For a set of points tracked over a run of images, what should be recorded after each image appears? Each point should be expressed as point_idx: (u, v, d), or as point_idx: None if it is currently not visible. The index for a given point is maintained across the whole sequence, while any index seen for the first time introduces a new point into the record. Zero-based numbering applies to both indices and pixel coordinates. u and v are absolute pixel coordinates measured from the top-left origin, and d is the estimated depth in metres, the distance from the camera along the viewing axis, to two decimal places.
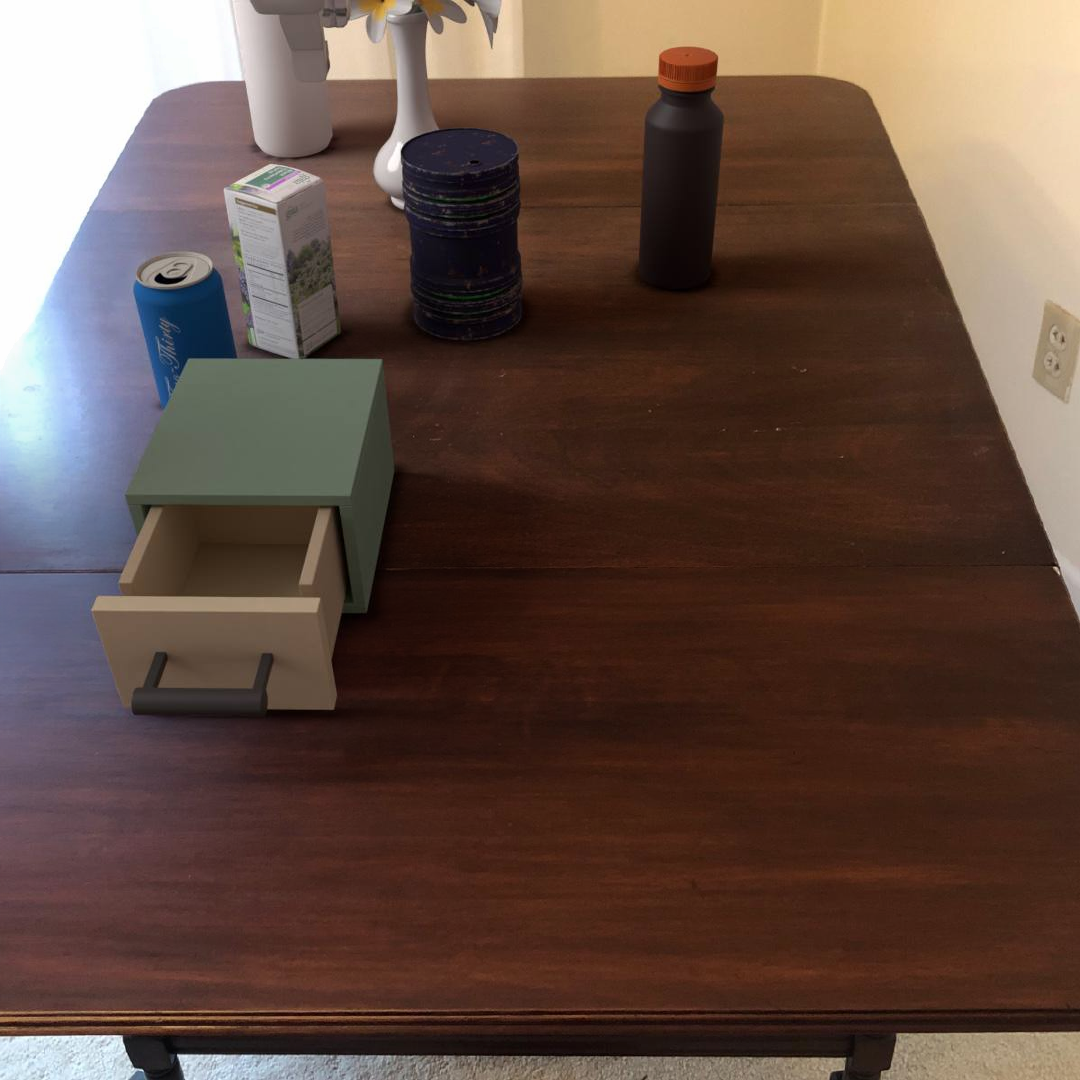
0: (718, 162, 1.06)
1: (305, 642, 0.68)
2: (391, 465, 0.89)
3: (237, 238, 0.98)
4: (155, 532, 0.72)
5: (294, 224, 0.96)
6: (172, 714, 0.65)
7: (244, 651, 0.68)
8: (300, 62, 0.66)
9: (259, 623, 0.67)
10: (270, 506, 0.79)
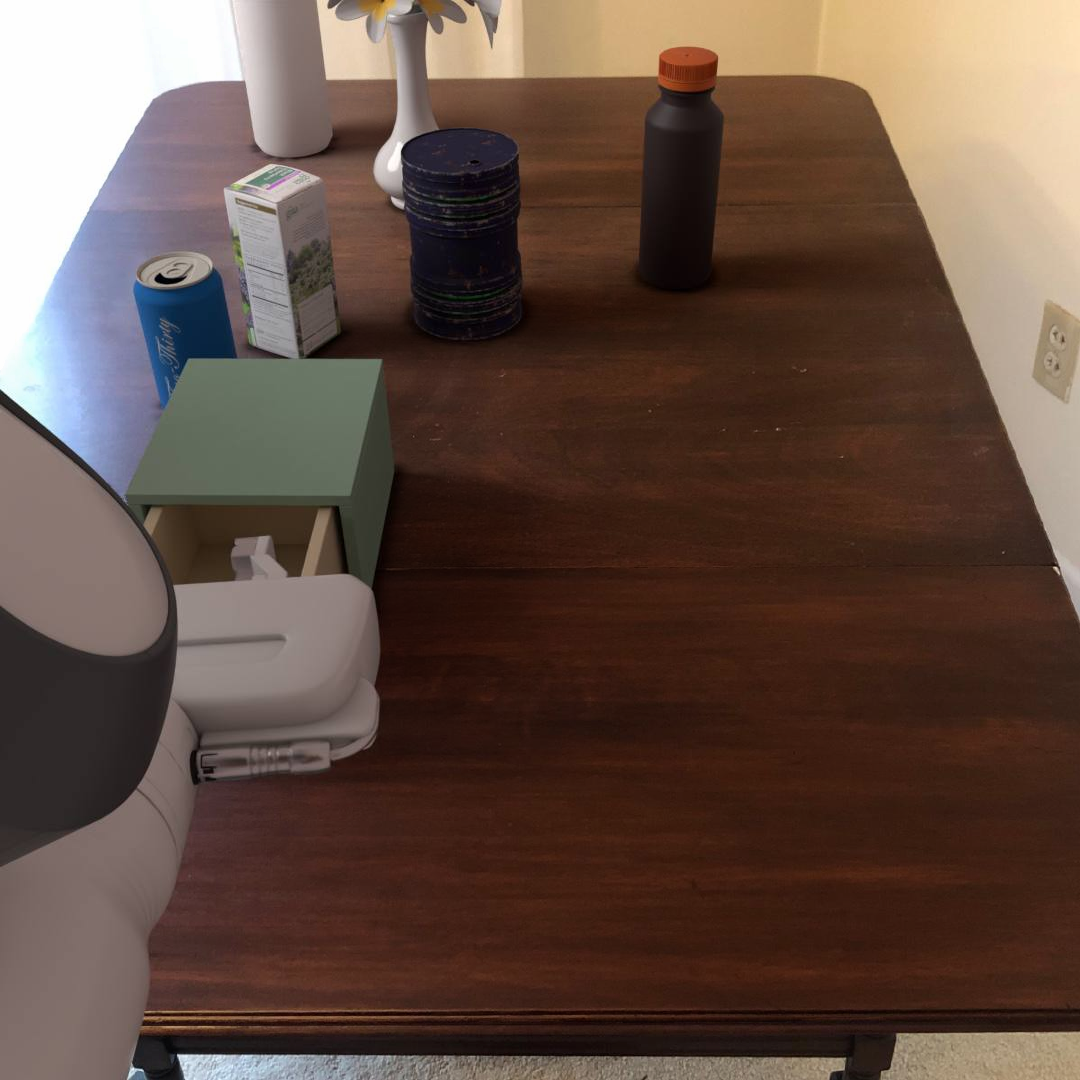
0: (718, 162, 1.06)
1: None
2: (391, 465, 0.89)
3: (237, 238, 0.98)
4: (155, 532, 0.72)
5: (294, 225, 0.96)
6: None
7: None
8: None
9: None
10: (270, 506, 0.79)
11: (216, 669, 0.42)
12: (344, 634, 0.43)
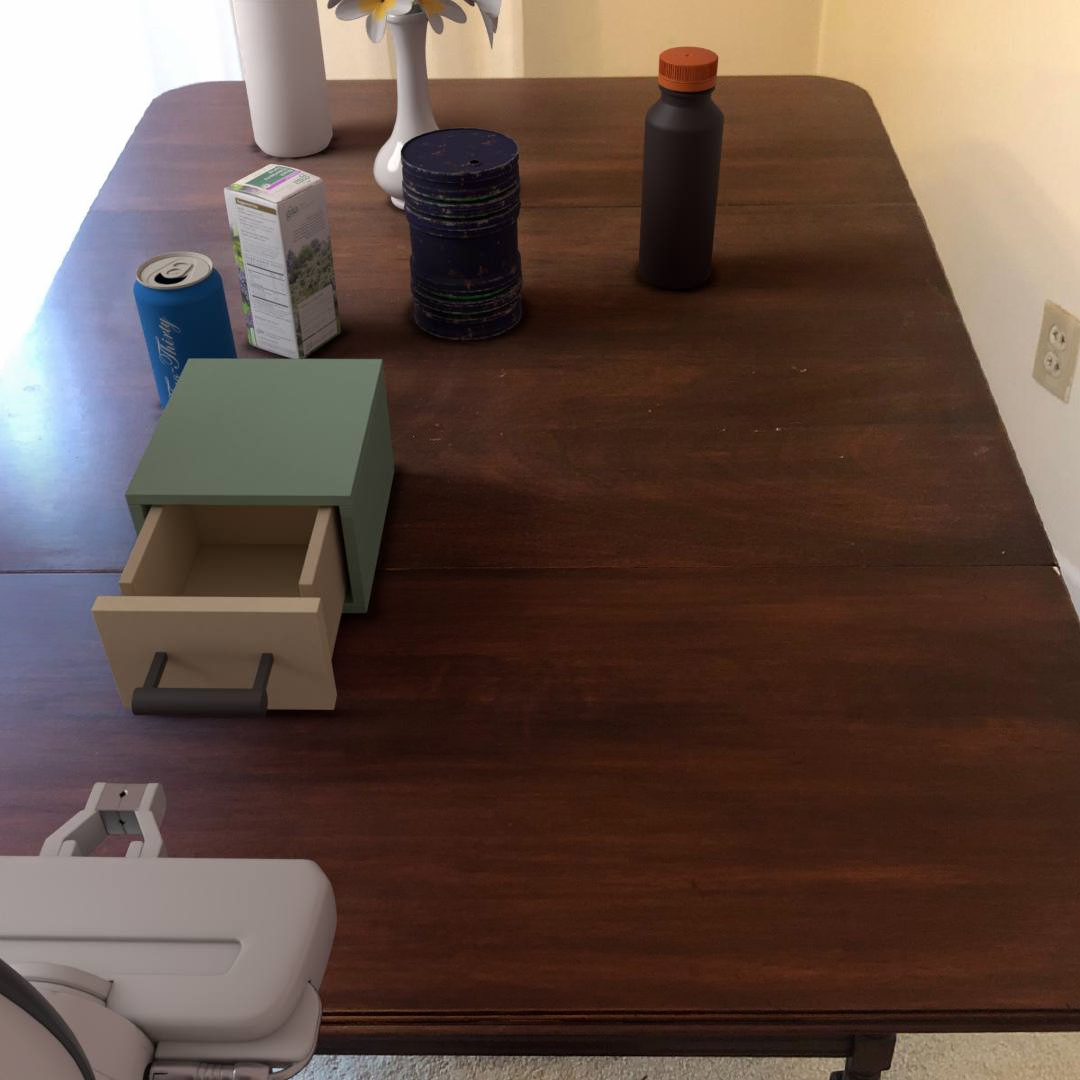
0: (718, 162, 1.06)
1: (305, 642, 0.68)
2: (391, 465, 0.89)
3: (237, 238, 0.98)
4: (155, 532, 0.72)
5: (294, 225, 0.96)
6: (172, 714, 0.65)
7: (244, 651, 0.68)
8: None
9: (259, 623, 0.67)
10: (270, 506, 0.79)
11: (174, 981, 0.46)
12: (293, 946, 0.47)
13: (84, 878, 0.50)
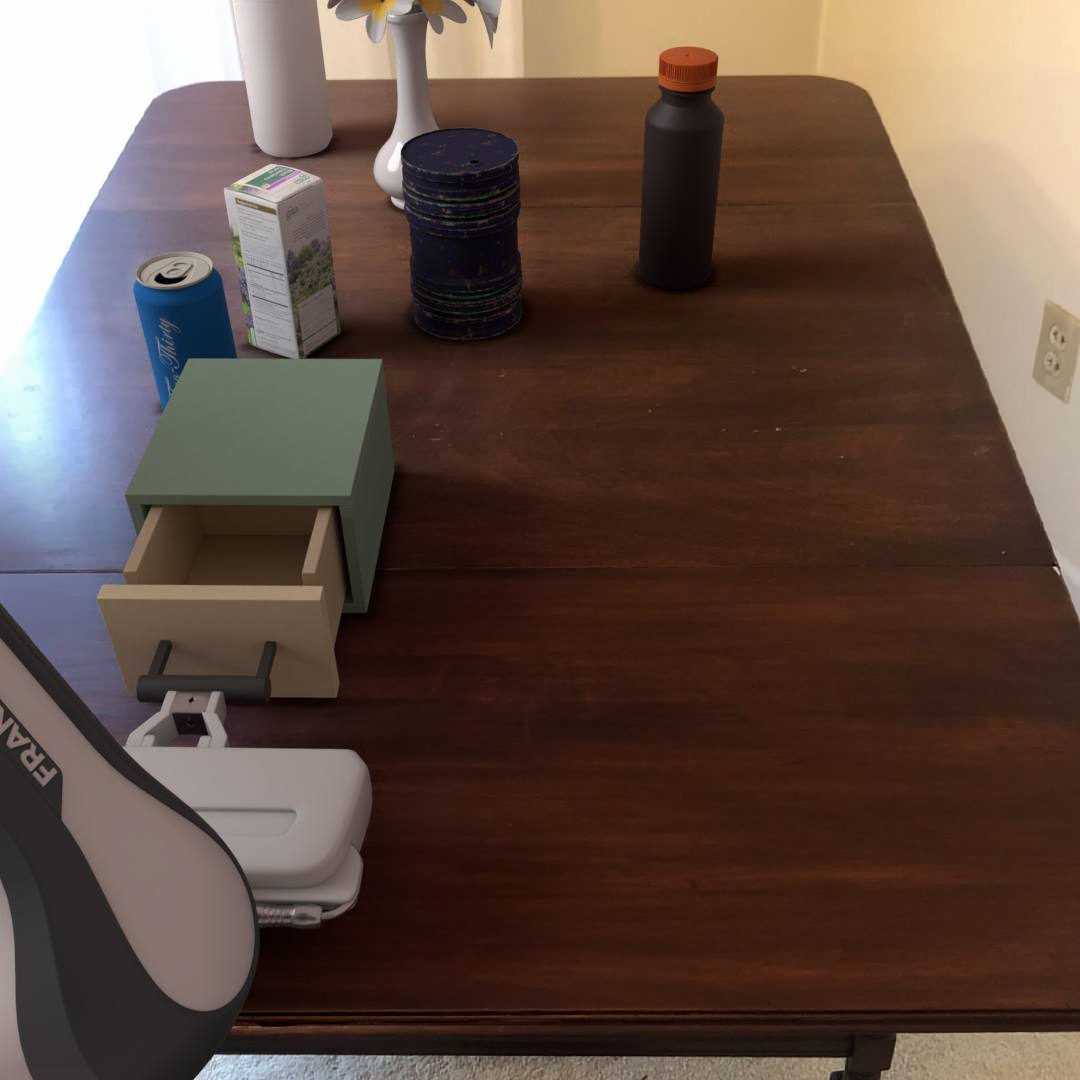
0: (718, 162, 1.06)
1: (308, 630, 0.68)
2: (391, 465, 0.89)
3: (237, 238, 0.98)
4: (159, 521, 0.73)
5: (294, 225, 0.96)
6: None
7: (248, 639, 0.69)
8: None
9: (263, 611, 0.68)
10: None
11: (243, 840, 0.57)
12: (340, 814, 0.58)
13: (165, 762, 0.60)
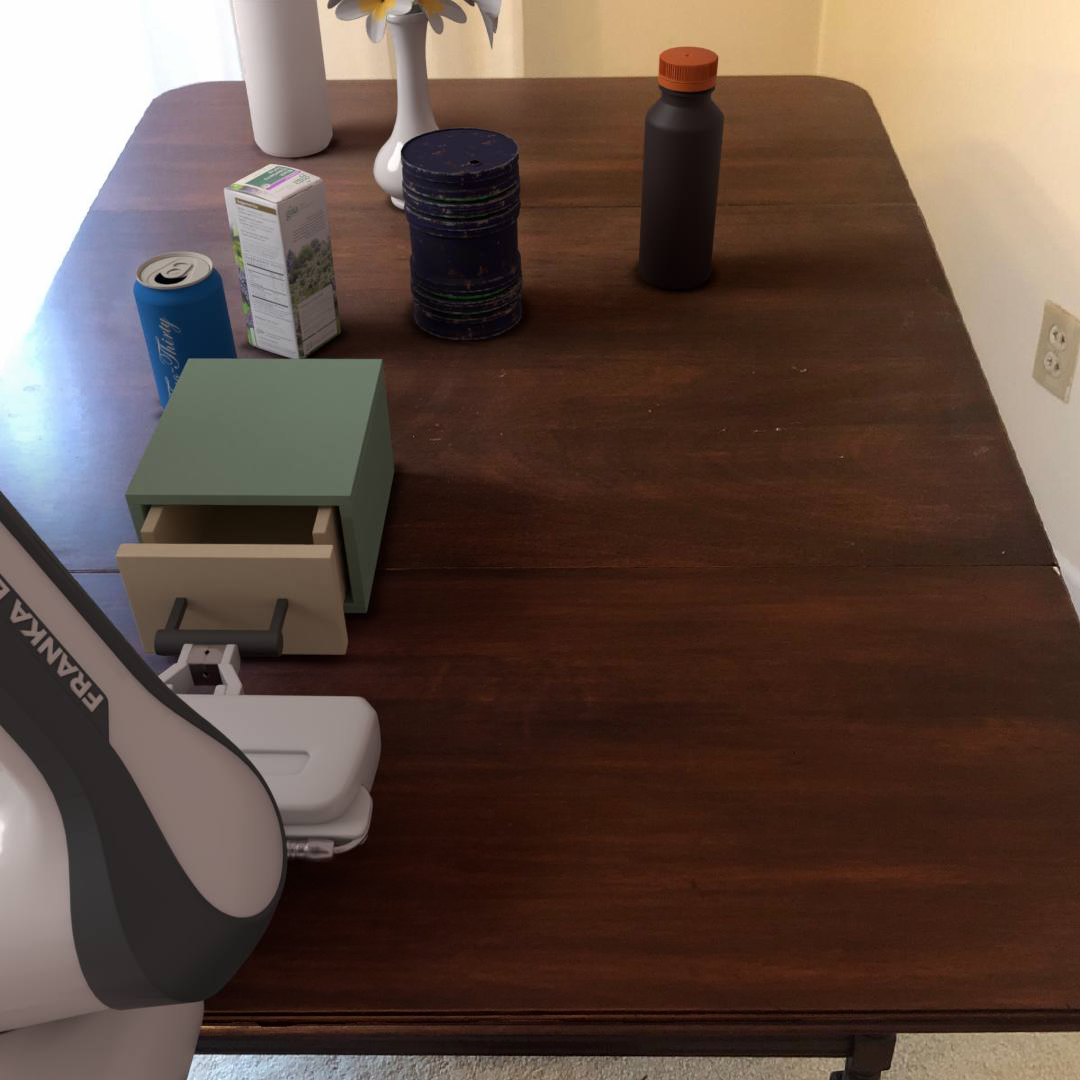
0: (718, 162, 1.06)
1: (318, 587, 0.71)
2: (391, 465, 0.89)
3: (237, 238, 0.98)
4: None
5: (294, 225, 0.96)
6: None
7: (260, 596, 0.72)
8: None
9: (275, 569, 0.70)
10: None
11: None
12: (350, 755, 0.60)
13: None
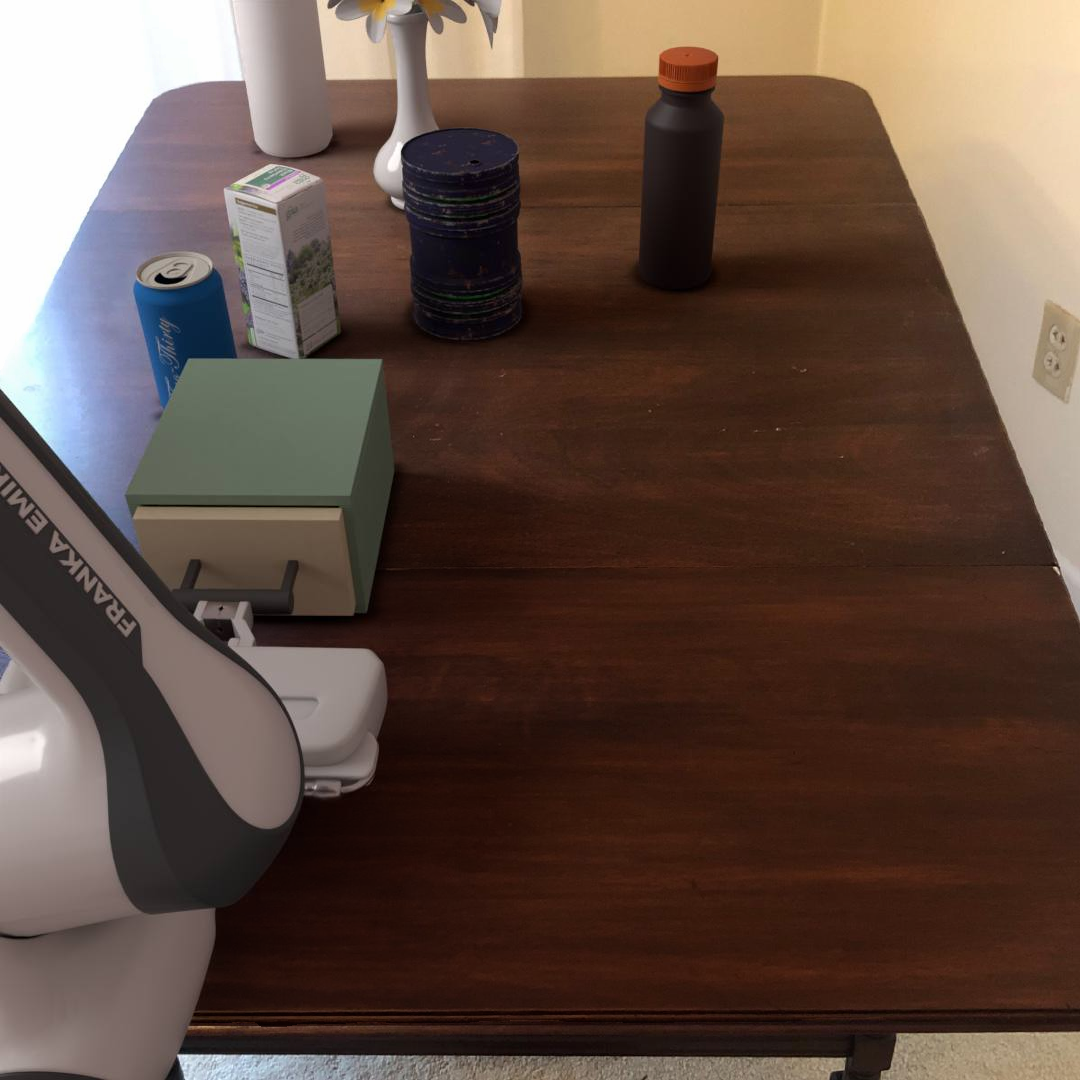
0: (718, 162, 1.06)
1: (328, 549, 0.74)
2: (391, 465, 0.89)
3: (237, 238, 0.98)
4: None
5: (294, 225, 0.96)
6: None
7: (272, 558, 0.74)
8: None
9: (286, 531, 0.73)
10: None
11: None
12: (358, 702, 0.63)
13: None
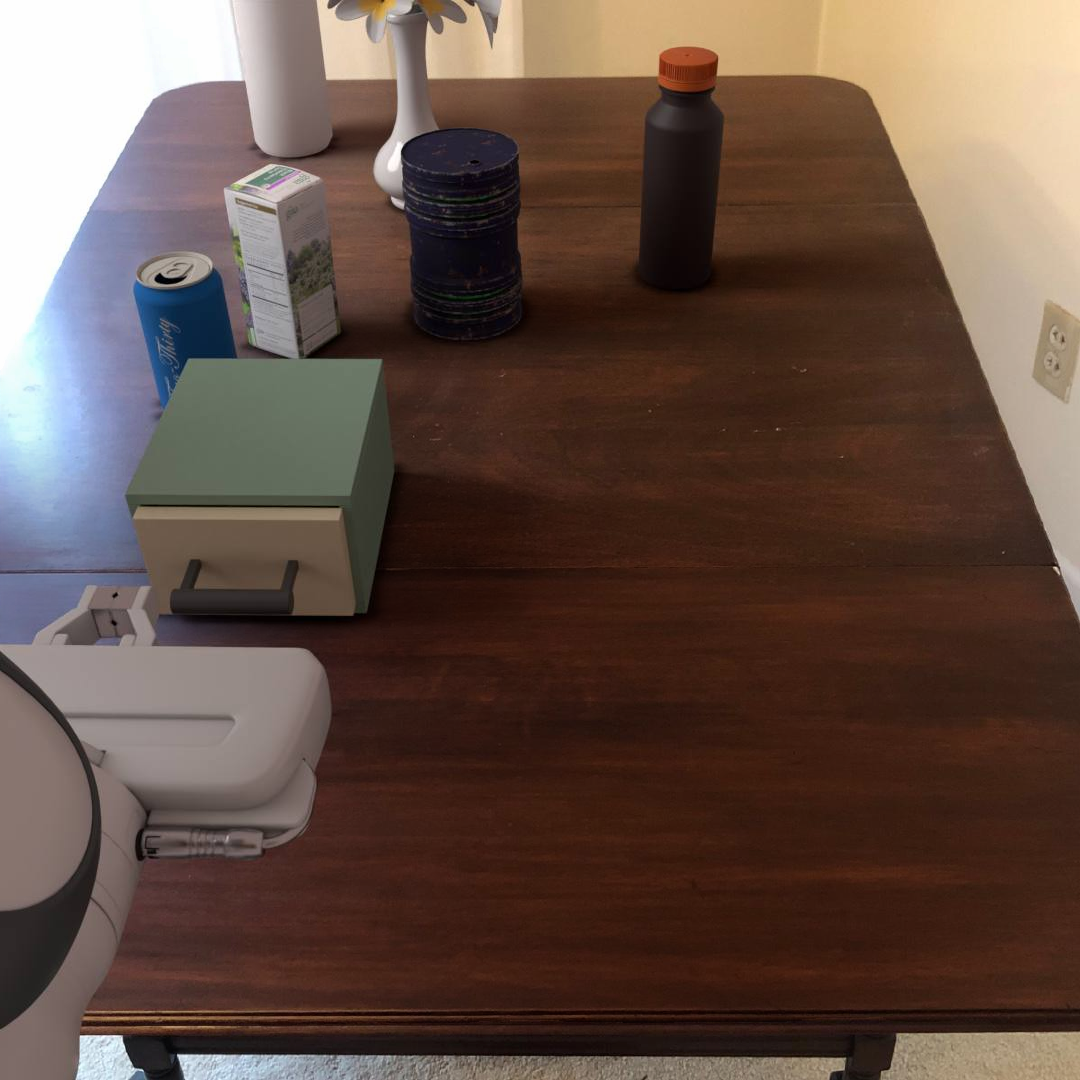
0: (718, 162, 1.06)
1: (328, 549, 0.74)
2: (391, 465, 0.89)
3: (237, 238, 0.98)
4: None
5: (294, 225, 0.96)
6: (207, 612, 0.72)
7: (272, 558, 0.74)
8: None
9: (286, 531, 0.73)
10: None
11: (167, 751, 0.46)
12: (288, 721, 0.47)
13: (76, 662, 0.49)
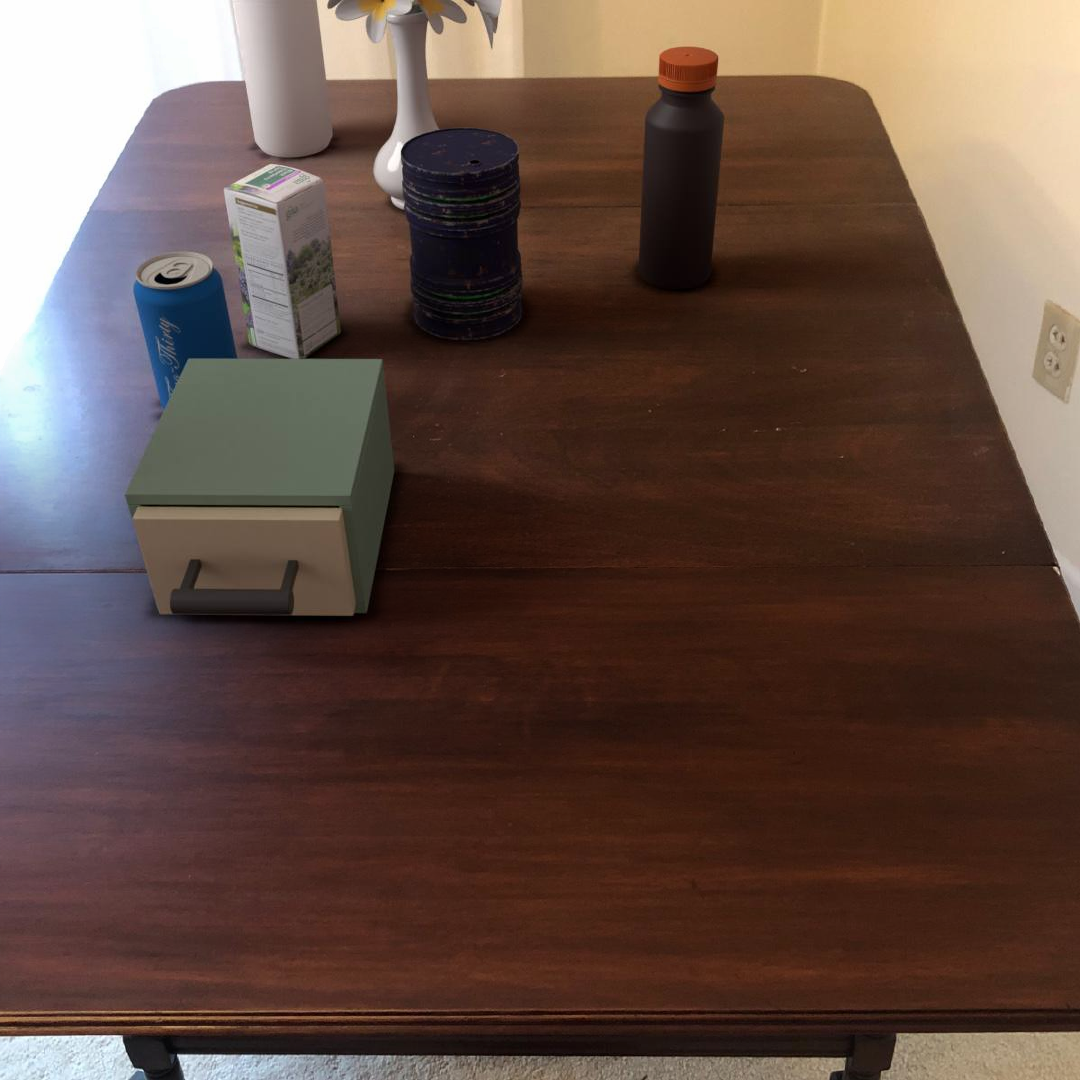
0: (718, 162, 1.06)
1: (328, 549, 0.74)
2: (391, 465, 0.89)
3: (237, 238, 0.98)
4: None
5: (294, 225, 0.96)
6: (207, 612, 0.72)
7: (272, 558, 0.74)
8: None
9: (286, 531, 0.73)
10: None
11: None
12: None
13: None
